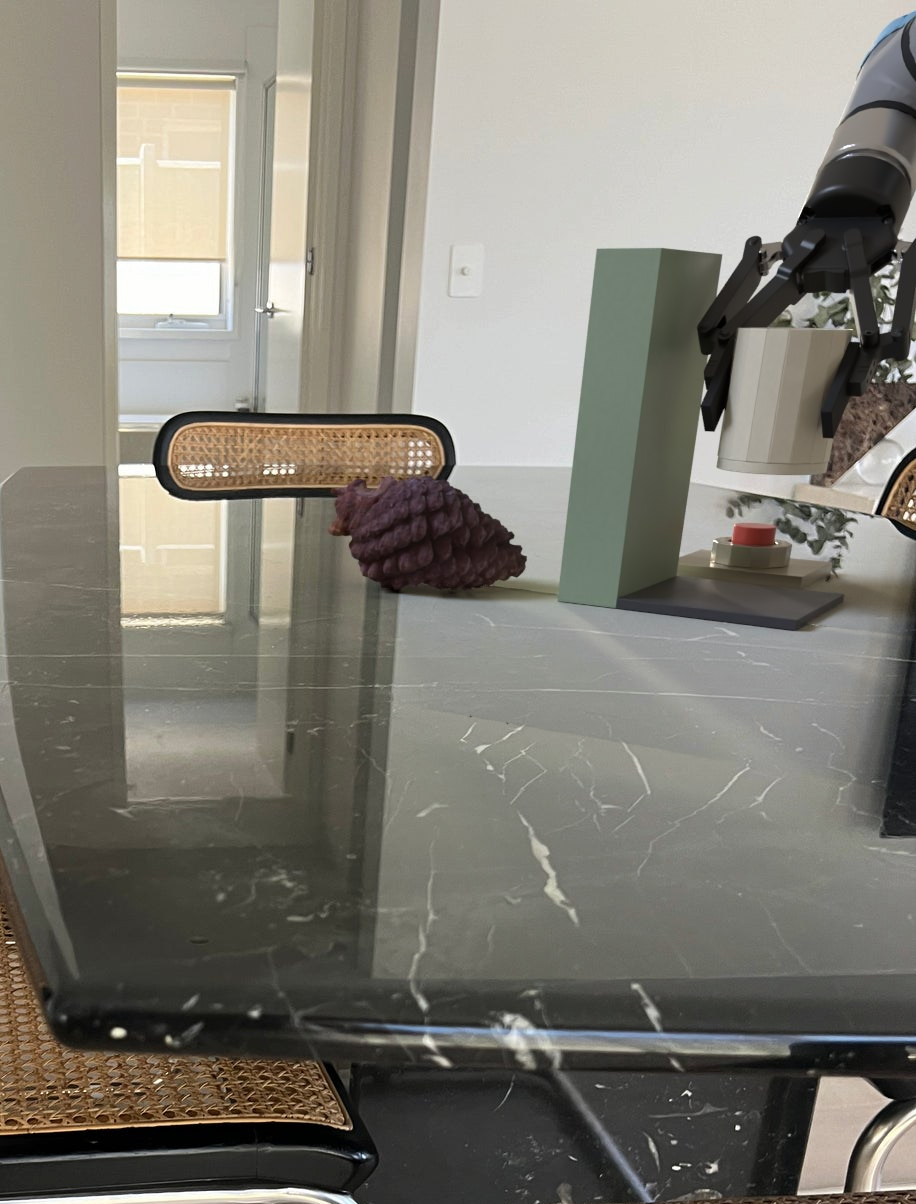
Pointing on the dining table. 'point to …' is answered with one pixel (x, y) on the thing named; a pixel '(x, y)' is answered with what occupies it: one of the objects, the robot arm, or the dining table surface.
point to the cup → (779, 400)
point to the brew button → (753, 534)
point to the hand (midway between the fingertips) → (766, 421)
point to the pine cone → (424, 535)
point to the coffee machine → (651, 449)
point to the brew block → (753, 565)
